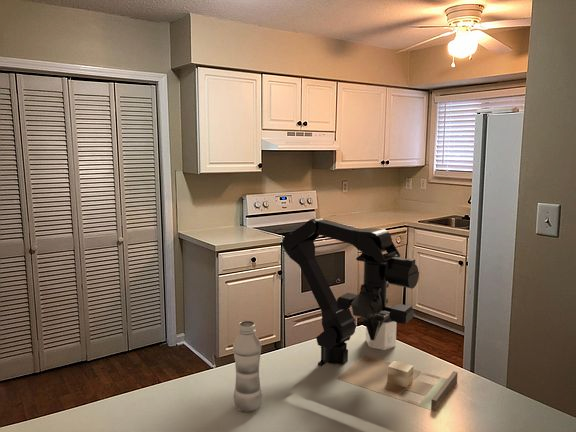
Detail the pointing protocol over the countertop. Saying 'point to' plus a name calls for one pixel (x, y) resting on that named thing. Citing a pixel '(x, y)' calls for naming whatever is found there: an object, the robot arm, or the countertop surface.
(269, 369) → the countertop surface
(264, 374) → the countertop surface
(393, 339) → the jar
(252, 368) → the plastic bottle
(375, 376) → the board
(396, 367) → the block
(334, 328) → the robot arm
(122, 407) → the countertop surface
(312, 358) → the countertop surface
